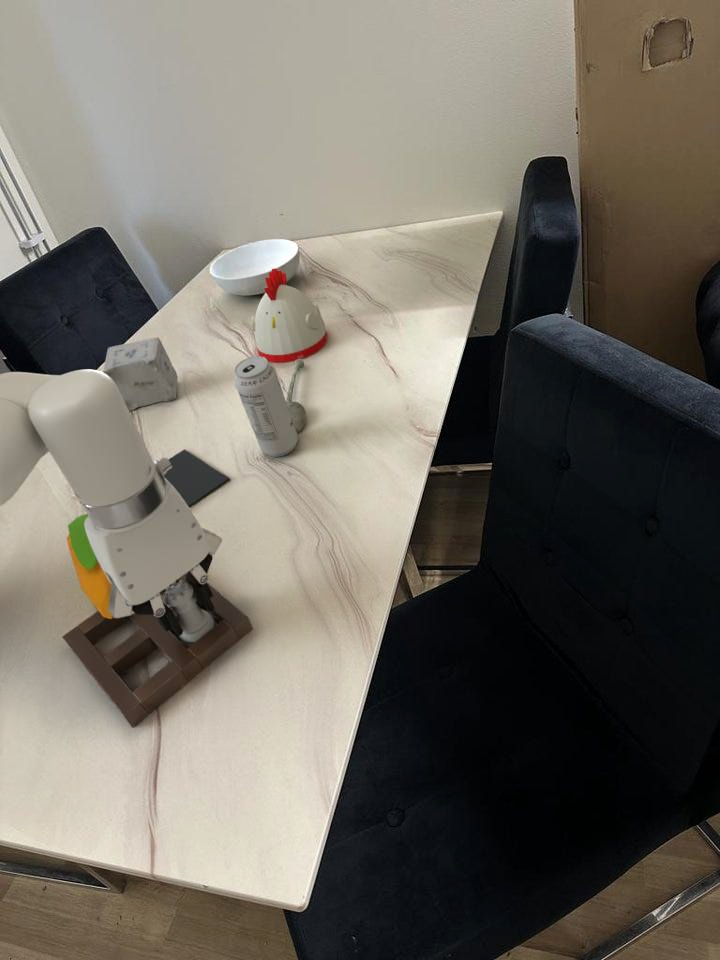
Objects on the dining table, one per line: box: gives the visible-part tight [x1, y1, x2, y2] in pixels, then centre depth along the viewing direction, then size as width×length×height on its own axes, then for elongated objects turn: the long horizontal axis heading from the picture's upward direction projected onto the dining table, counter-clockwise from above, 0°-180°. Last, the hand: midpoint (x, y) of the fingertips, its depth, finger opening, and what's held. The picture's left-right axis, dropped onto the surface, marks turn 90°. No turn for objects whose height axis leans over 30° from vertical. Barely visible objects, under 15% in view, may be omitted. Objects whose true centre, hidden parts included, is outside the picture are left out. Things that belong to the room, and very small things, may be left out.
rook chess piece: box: [163, 580, 218, 648], centre depth 74 cm, size 4×4×8 cm
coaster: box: [164, 449, 231, 508], centre depth 100 cm, size 13×13×1 cm
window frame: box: [62, 573, 254, 728], centre depth 77 cm, size 16×16×2 cm
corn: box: [66, 513, 114, 619], centre depth 84 cm, size 7×8×20 cm
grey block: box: [102, 336, 179, 412], centre depth 119 cm, size 10×8×10 cm
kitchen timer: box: [250, 268, 329, 364], centre depth 124 cm, size 14×14×15 cm
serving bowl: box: [209, 238, 301, 297], centre depth 153 cm, size 21×21×7 cm
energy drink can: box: [233, 355, 299, 458], centre depth 98 cm, size 6×6×15 cm
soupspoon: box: [285, 359, 307, 434], centre depth 112 cm, size 22×3×7 cm
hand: (190, 615), depth 75 cm, fingers open, 3 cm apart
